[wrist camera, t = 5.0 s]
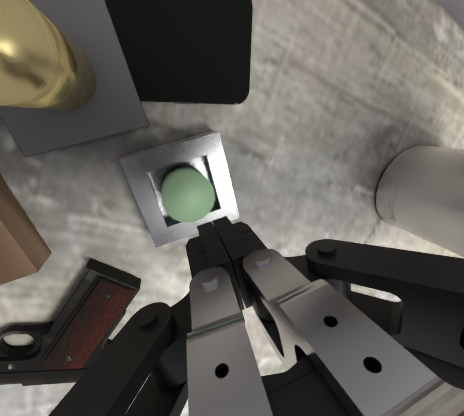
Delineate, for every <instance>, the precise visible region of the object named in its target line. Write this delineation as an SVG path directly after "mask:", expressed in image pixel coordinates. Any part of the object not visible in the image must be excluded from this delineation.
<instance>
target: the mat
mask: <svg viewBox="0 0 464 416" xmlns="http://www.w3.org/2000/svg"><path fill="white" fill-rule="evenodd" d="M29 1H30V2H31V3H32V4H33V5H34V6H35V7H36V8H37V9H38V10H39V11H40V12H41V13H42V14H44V15H45V16H46V17H47V18H48V19H49V20H50V21H51V22H52V23H53V24H54V25H55V26H56V27H57V28H58V29H59V30H60V31H61V32H63V33H64V34H65V35H66V36H67V37H68V38H69V39H70V40H71V41H72V42H73V43H74V44H75V45H76V46H77V47H78V48H79V49H80V50H81V51H82V52H83V53H84V54H85V55H86V56H87V58H88V59H89V61H90V62H91V64H92V66H93V68H94V71H95V75H96V90H95V93H94V95H93V97H92V99H91V100H90V101H89V102H88V103H87V104H86V105H85V106H83V107H81V108H78V109H75V110H54V109H40V108H25V107H10V106H0V116H1V118H2V119H3V121H4V123H5V124H6V126H7V128H8V130H9V131H10V133H11V135H12V136H13V138H14V140H15V141H16V143H17V145H18V146H19V148H20V150H21V151H22V153H23V155H24V157H28V156H32V155H36V154H40V153H43V152H47V151H51V150H55V149H59V148H63V147H67V146H71V145H75V144H79V143H83V142H87V141H90V140H94V139H98V138H102V137H106V136H110V135H114V134H118V133H122V132H126V131H130V130H133V129H137V128H141V127H145V126H149V125H148V122H147V119H146V116H145V114H144V111H143V108H142V105H141V102H140V100H139V97H138V94H137V91H136V88H135V86H134V83H133V80H132V77H131V74H130V71H129V69H128V66H127V63H126V60H125V57H124V54H123V52H122V49H121V46H120V43H119V40H118V38H117V35H116V32H115V29H114V26H113V23H112V21H111V18H110V15H109V12H108V9H107V6H106V4H105V1H104V0H29Z"/></svg>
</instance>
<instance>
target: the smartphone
mask: <svg viewBox="0 0 464 416" xmlns="http://www.w3.org/2000/svg"><path fill="white" fill-rule="evenodd" d="M104 1H105V4H106V6H107V9H108V12H109V15H110V18H111V21H112V23H113V26H114V29H115V32H116V35H117V38H118V40H119V43H120V46H121V49H122V52H123V54H124V57H125V60H126V63H127V66H128V69H129V71H130V74H131V77H132V80H133V83H134V86H135V88H136V91H137V94H138V97H139V100H140V101H148V102H174V103H180V104H198V103H203V104H231V105H236V104H240V103H242V102H243V101H244V100H245V99H246V98H247V96H248V94H249V83H250V58H251V33H252V1H251V0H104Z"/></svg>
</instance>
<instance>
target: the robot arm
mask: <svg viewBox="0 0 464 416" xmlns="http://www.w3.org/2000/svg"><path fill="white" fill-rule="evenodd" d="M376 208H377V211H378V214H379V215H380V217H381V218H382V219H383V220H384V221H385V222H387V223H390V224H392V225H394V226H396V227H398V228H401V229H403V230H405V231H407V232H410V233H412V234H414V235H416V236H418V237H420V238H422V239H425V240H427V241H429V242H431V243H434V244H436V245H438V246H440V247H442V248H445V249H447V250H449V251H451V252H454V253H456V254H458V255H460V256H462V257H464V150H461V149H452V148H443V147H433V146H424V145H421V146H414V147H411V148H409V149H407V150H405V151H403V152H402V153H401V154H399V155H398V156H397V157H396V158H395V159H394V160H393V161H392V162H391V163H390V165H389V166H388V167H387V169H386V171H385V172H384V174H383V176H382V178H381V180H380V182H379V186H378V189H377V194H376ZM212 223H213V224H212ZM197 229H198V232H199V235H200V236H198V237H195V238H192V239H189V240H188V243H187V245H186V251H187V256H188V261H189V266H190V270H191V275H192V280H191V282H190V287H189V288H190V291H189V293H188V294H187V295H186V296H185V297H184V298H183V299H182V300H181V301H179V302H178V303H176V304H175V305H173V306H172V307H169V306H168V305H167V304H166V303H162V302H157V303H152V304H149V305H147V306H145V307H143V308H141V309H140V310H139V311H137V312H136V313H135V314H134V315H133V316H132V317H131V318H130V320H129V321H128V322H127V323H126V324H125V326H124V327H123V328H122V329H121V330H120V331H119V333H118V334H117V335H116V336H115V337H114V339H113V340H112V341H111V342H110V343H109V344H108V346H107V347H106V348H105V349H104V350H103V352H102V353H101V354H100V355H99V356H98V358H97V359H96V360H95V361H94V362H93V363H92V365H91V366H90V367H89V368H88V369H87V371H86V372H85V373H84V374H83V375H82V376H81V378H80V379H79V380H78V381H77V382H76V384H75V385H74V386H73V387H72V388H71V390H70V391H69V392H68V393H67V394H66V395H65V397H64V398H63V399H62V400H61V401H60V403H59V404H58V405H57V406H56V407H55V409H54V410H53V411H52V412H51V413H50V414H49V416H180V414H181V412H182V410H183V408H184V406H185V404H186V401H187V399H188V407H189V416H464V259H463V258H456V257H449V256H442V255H435V254H428V253H422V252H415V251H408V250H401V249H394V248H387V247H380V246H373V245H367V244H360V243H353V242H346V241H339V240H332V239H322V240H317V241H314V242H312V243H310V244H309V245H308V246H307V247H306V250H305V253H306V255H302V256H295V257H283V256H282V255H281V254H280V253H279V252H277V251H275V250H273V249H267V247H266V246H265V245H264V244H263V243H262V241H261V240H260V239H259V238H258V237H257V235H255V233H254V232H253V231H252V229H251V228H250V227H249V226H248V224H245V223H242V222H237V223H234V224H232V223H231V222H230V220H229V219H228V217H227V216H224V217H221V218H219V219H216V220H213V221H212V222H211V221H210V222H207V223H204V224H201V225H198V226H197ZM351 283H352V284H356V285H360V286H365V287H369V288H373V289H377V290H381V291H385V292H389V293H392V294H394V295H396V296H397V297H399V298H400V299H401V300H402V301H400V302H392V301H388V300H384V299H380V298H376V297H372V296H368V295H364V294H361V293H357V292H353V291H351ZM242 300H243V301H242ZM243 302H244V304H245V307H246V308H248V307H250V306H253V308H254V310H255V313H256V316H257V320H258V323H259V325H260V326H261V328H262V330H263V332H264V333H265V335H266V337H267V338H268V340H269V342H270V343H271V345H272V347H273V348H274V350H275V352H276V353H277V355H278V357H279V358H280V360H281V362H282V364H283V365H284V367H285V369H286V372H283V373H278V374H272V375H266V376H260V372H259V369H258V366H257V363H256V359H255V356H254V353H253V350H252V347H251V343H250V340H249V337H248V334H247V330H246V327H245V320H244V316H243V313H242V310H243V309H245V308H244V305H243ZM149 374H150V375H149ZM148 376H149V377H148ZM147 378H148V379H147ZM146 379H147V380H146ZM145 381H146V382H145ZM144 382H145V383H144ZM143 384H144V385H143ZM142 386H143V387H142ZM141 387H142V388H141ZM140 389H141V390H140ZM139 390H140V392H139ZM138 392H139V393H138ZM137 394H138V395H137ZM136 395H137V396H136ZM135 397H136V398H135ZM134 398H135V400H134ZM133 400H134V401H133ZM132 402H133V403H132ZM131 403H132V404H131ZM130 405H131V406H130ZM129 406H130V408H129ZM128 408H129V409H128ZM127 410H128V411H127Z"/></svg>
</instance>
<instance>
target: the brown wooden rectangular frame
mask: <svg viewBox="0 0 464 416" xmlns="http://www.w3.org/2000/svg"><path fill="white" fill-rule="evenodd" d="M50 254H51V251H50V250H49V248H48V247H47V245H46V244H45V242H44V241H43V239H42V238H41V236H40V235H39V233H38V232H37V230H36V229H35V227H34V225H33V224H32V222H31V221H30V219H29V218H28V216H27V215H26V213H25V212H24V210H23V209H22V207H21V206H20V204H19V203H18V201H17V200H16V198H15V197H14V195H13V194H12V192H11V190H10V189H9V187H8V186H7V184H6V183H5V181H4V180H3V178H2V177H1V175H0V285H1V284H4V283H7V282H10V281H13V280H16V279H19V278H22V277H25V276H27V275H30V274H33V273H36V272H38V271H39V270H40V268H41V267H42V265H43V264H44V263H45V261H46V260H47V259H48V257H49V256H50Z"/></svg>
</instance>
